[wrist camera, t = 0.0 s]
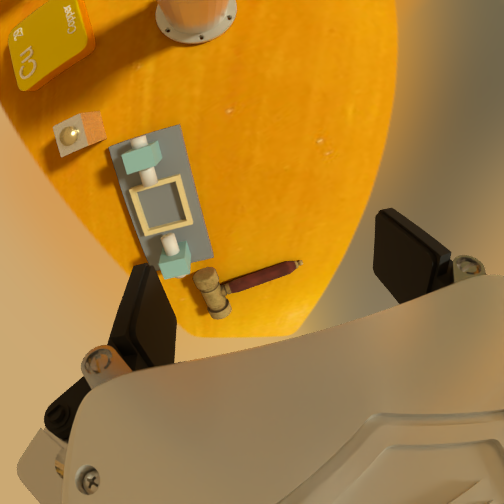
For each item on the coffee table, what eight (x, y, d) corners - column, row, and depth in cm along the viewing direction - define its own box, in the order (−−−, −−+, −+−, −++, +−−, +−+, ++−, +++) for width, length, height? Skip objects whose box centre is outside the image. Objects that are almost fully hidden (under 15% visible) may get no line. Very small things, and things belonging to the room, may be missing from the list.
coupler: (75, 122, 36) (50, 127, 29) (99, 111, 36) (77, 113, 29) (81, 148, 39) (58, 158, 31) (106, 138, 39) (86, 146, 31)
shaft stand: (111, 145, 40) (95, 153, 33) (180, 124, 40) (174, 127, 34) (153, 267, 52) (147, 290, 45) (213, 253, 52) (214, 275, 46)
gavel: (302, 246, 51) (310, 287, 56) (294, 235, 55) (302, 275, 60) (192, 284, 50) (211, 322, 55) (192, 271, 54) (209, 308, 59)
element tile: (99, 49, 31) (89, 45, 27) (32, 95, 32) (18, 96, 27) (82, -9, 24) (72, -17, 19) (18, 36, 24) (4, 33, 20)
